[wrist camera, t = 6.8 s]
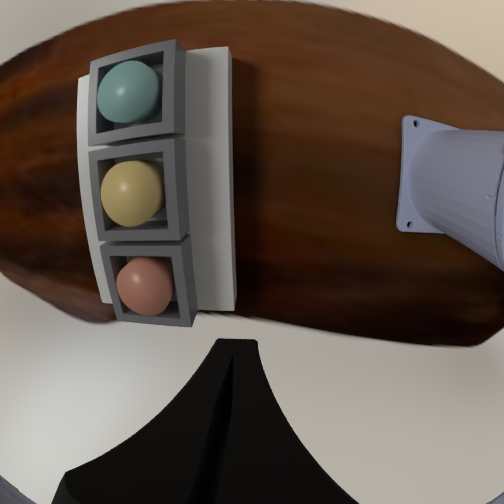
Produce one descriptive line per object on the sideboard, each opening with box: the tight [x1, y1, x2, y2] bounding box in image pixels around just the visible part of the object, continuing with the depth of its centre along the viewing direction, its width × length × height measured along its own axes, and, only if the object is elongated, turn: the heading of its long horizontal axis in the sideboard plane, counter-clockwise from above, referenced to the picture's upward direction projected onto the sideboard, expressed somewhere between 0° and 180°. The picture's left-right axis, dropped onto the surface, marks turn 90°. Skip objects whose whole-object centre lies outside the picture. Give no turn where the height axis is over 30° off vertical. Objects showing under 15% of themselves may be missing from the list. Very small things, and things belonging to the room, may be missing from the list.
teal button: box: [97, 61, 163, 124], centre depth 12 cm, size 3×3×2 cm
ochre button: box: [101, 160, 166, 227], centre depth 14 cm, size 3×3×2 cm
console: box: [77, 39, 237, 327], centre depth 15 cm, size 10×16×4 cm, turn 1°
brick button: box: [116, 256, 176, 316], centre depth 15 cm, size 3×3×2 cm
